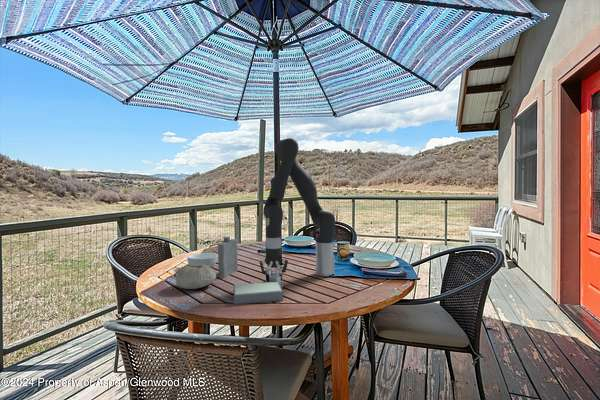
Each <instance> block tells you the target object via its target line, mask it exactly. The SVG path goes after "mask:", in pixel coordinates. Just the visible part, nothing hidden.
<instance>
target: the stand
mask: <svg viewBox="0 0 600 400" xmlns="http://www.w3.org/2000/svg"><path fill="white" fill-rule="evenodd" d="M277 301H280V302H281V301H284V291H283V288H282V287H281V286H280V284H279V282H257V283H241V284H234V285H233V305H240V304H241V305H243V304H253V303H254V304H255V303H265V302H266V303H268V302H277Z"/></svg>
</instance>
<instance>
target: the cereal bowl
mask: <svg viewBox="0 0 600 400" xmlns="http://www.w3.org/2000/svg"><path fill="white" fill-rule="evenodd" d="M217 262H218V253H215V252H199V253H194V254H189V255H188V256H187V263H188V266H190V265H195V266H196V265H205V266H208V267H211V268H212V267H213V266H215V265H216V264H217Z"/></svg>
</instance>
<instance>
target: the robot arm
mask: <svg viewBox="0 0 600 400" xmlns="http://www.w3.org/2000/svg"><path fill="white" fill-rule="evenodd" d="M274 150H275V153H276V155H277V158H278V159H279V160H280V164H279V167H278V169H277V170H276V173H275V175H274V177H273V179H272V182H271V186H270V190H269V194H268V197H267V199H266V201H265V203H264V206H263V210H262V211H263V216H264V217H265V218H266V219H268V220H269V222H268V223H269V224H268V225H266V226H265V245H264V246H265V258H264V260H259V265H260V270H261V273H262V274H264V275H265V282H266V281H267V282H266V283H268V282H269V271H271V270H272V268H275V269H277V270H278V272H279V274H280V276H281V281H282V280H283V273H286V271H287V267H288V263H289V260H288V259H287V258H286V259H284V258H283V257H282V237H281V228H282V224H283V218H284V211H283V208H282V207H281V205H279V203H280V202H281V201H282V200H284V197H285V193H286V189H287V184H288V181H289V177H290V179H291V180H292V182H293V184H294V187H295V189H296V190H297V192H298V194H299V196H300V198H301V199H302V201H303V203H304V205H305V207H306V209H307V211H308V213H309V216H310V218H311V222H312V223H313V225H314V226H315V227H316V228H319V234H318V235H316V236H315V275H316V276H320V277H330V276H329V275H331V276H333V275H332V274H334V275H335V256H334V239H335V234H336V218H335V215H334V213H332V212H330V211H325V210H324V209H323V208H322V207H321V204H320V203H319V200H318V190H317V186H316V184H315V182H314V180H313V178H312V176H311V175H310V174H309V172H308V171H307V170H306V169H305V168H304V167H302V165H301V164H299V162H298V160H297V155H298V152H299V150H300V149H299V142H297V140H296V139H294V138H292V137H291V138H290V137H289V138H284V139H279V140H278V141H277V142H276V143H275V147H274ZM265 264H266V265H267V266H266V270H265V268H264V265H265ZM281 264H283V267H282V268H281Z"/></svg>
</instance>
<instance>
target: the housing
mask: <svg viewBox="0 0 600 400" xmlns="http://www.w3.org/2000/svg"><path fill="white" fill-rule="evenodd" d="M281 281H282V280H281V276H280V274H279V270H278V269H270V271H269V282H279V284H280V286H281V288H283V287H284V284H283V283H282V282H281ZM265 283H268V282H267V281H266V280H265Z"/></svg>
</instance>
